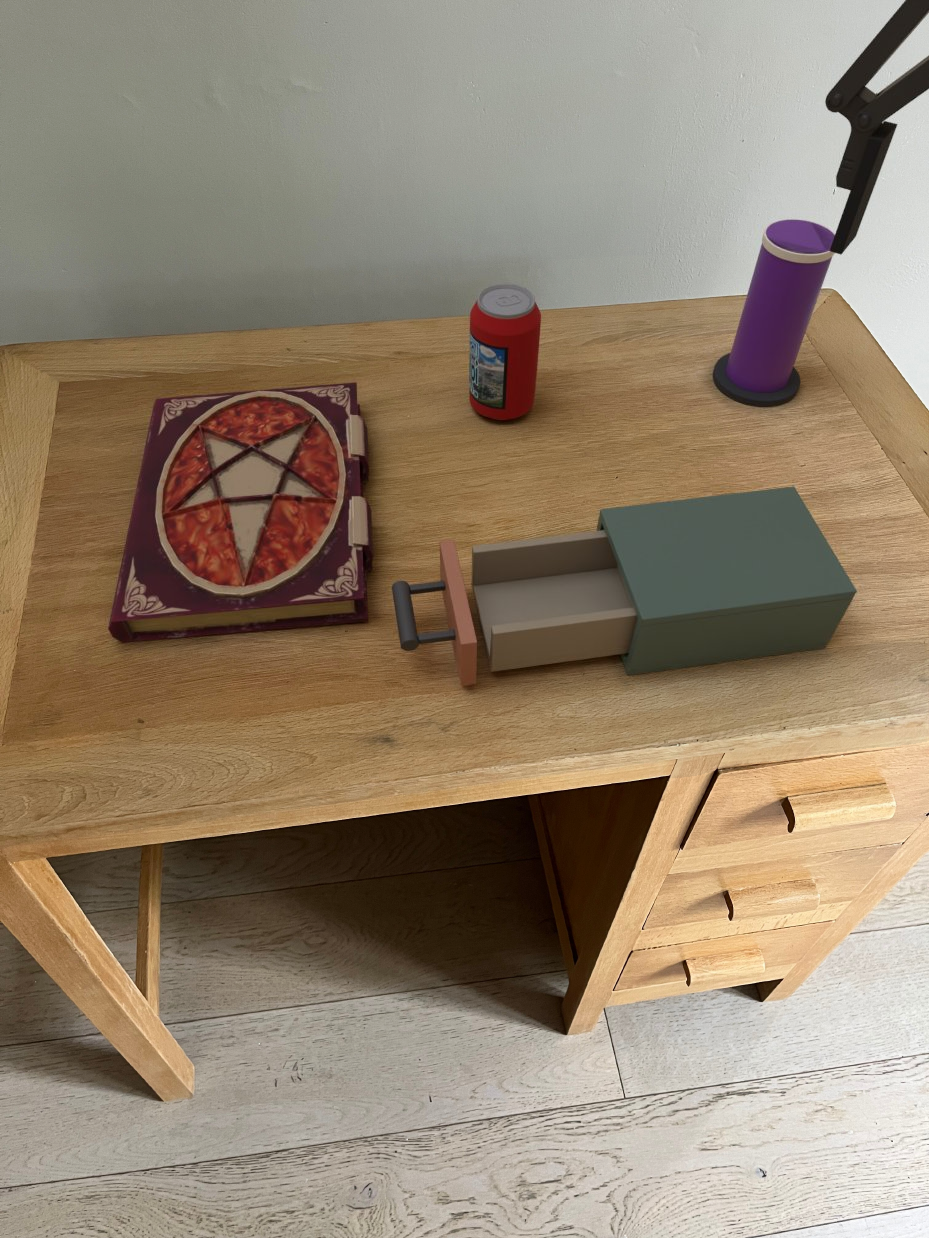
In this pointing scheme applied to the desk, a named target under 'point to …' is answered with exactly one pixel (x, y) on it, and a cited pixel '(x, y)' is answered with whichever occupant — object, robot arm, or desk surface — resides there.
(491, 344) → the beverage can
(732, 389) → the coaster
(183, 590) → the book
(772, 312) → the tube
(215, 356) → the desk surface
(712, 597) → the cabinet
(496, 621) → the drawer
